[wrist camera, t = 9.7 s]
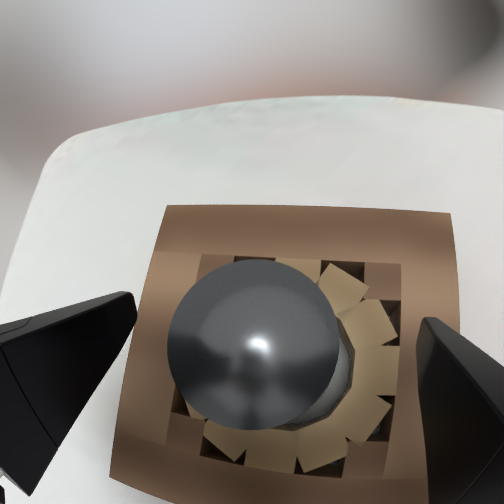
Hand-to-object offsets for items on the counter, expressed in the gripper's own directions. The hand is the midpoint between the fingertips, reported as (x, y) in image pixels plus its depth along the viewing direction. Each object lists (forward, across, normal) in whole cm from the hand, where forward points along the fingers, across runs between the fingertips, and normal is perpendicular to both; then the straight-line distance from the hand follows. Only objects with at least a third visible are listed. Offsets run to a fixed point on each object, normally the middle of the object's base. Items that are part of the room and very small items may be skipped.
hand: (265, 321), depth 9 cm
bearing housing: (+5, 0, +6) cm, 8 cm away
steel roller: (+5, 0, +6) cm, 8 cm away
